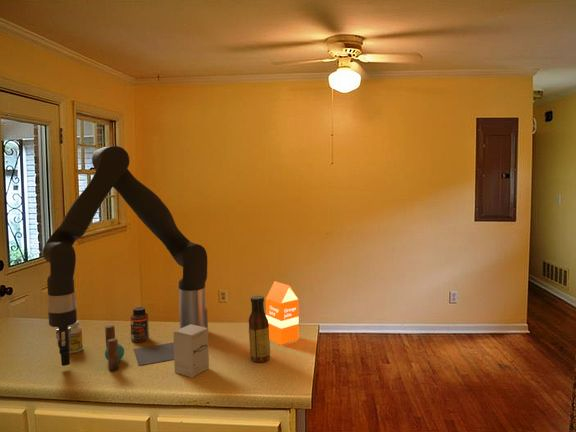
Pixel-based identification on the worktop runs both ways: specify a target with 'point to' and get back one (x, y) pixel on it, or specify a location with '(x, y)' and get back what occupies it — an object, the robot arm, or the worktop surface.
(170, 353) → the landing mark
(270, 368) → the worktop surface
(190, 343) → the supplement box
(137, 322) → the supplement bottle
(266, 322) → the sauce bottle
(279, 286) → the orange juice
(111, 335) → the post far
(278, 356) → the worktop surface
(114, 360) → the post near
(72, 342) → the supplement bottle
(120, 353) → the ball
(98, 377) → the worktop surface
